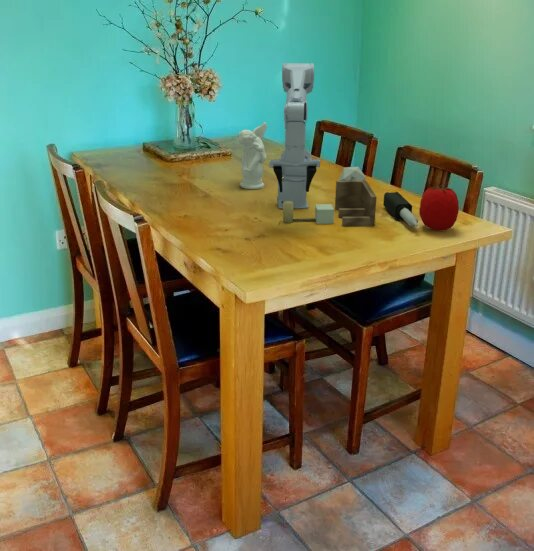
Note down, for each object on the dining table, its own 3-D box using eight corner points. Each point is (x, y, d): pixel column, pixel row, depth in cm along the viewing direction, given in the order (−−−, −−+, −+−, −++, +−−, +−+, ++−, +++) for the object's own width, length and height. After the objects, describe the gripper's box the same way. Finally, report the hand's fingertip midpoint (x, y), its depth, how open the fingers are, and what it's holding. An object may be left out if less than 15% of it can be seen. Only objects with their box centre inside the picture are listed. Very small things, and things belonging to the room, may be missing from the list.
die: (333, 191, 241) (340, 173, 232) (342, 174, 245) (349, 156, 237) (354, 200, 240) (362, 184, 232) (363, 183, 244) (371, 166, 236)
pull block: (283, 224, 206) (283, 205, 204) (282, 218, 211) (282, 200, 209) (333, 223, 207) (334, 204, 205) (331, 218, 212) (331, 199, 209)
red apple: (440, 239, 196) (445, 194, 190) (408, 227, 205) (411, 183, 199) (467, 231, 202) (472, 187, 197) (434, 219, 211) (439, 177, 206)
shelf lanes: (342, 226, 205) (344, 197, 202) (334, 208, 221) (336, 180, 217) (374, 225, 206) (376, 196, 202) (364, 207, 221) (366, 180, 218)
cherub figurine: (246, 191, 237) (245, 127, 228) (226, 183, 246) (225, 121, 237) (274, 186, 244) (275, 123, 235) (254, 178, 253) (254, 117, 244)
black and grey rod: (383, 207, 222) (407, 234, 199) (384, 192, 220) (409, 217, 197) (398, 206, 222) (424, 233, 200) (399, 191, 220) (426, 216, 198)
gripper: (270, 148, 193) (269, 195, 198) (322, 148, 193) (320, 194, 199) (269, 142, 199) (268, 188, 204) (319, 142, 200) (317, 187, 205)
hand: (294, 191), depth 202 cm, fingers open, 7 cm apart
